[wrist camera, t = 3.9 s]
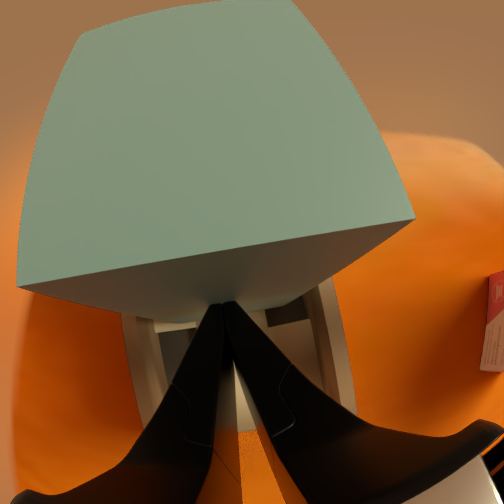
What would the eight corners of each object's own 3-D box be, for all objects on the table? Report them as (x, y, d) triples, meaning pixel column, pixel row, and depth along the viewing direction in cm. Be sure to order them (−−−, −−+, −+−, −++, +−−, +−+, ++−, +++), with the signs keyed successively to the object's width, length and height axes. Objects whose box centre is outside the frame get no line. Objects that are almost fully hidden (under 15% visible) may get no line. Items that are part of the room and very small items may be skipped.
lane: (335, 405, 15) (358, 422, 12) (169, 435, 14) (153, 459, 11) (301, 239, 18) (316, 217, 14) (138, 267, 17) (115, 251, 13)
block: (283, 305, 16) (415, 218, 4) (180, 323, 16) (16, 286, 3) (260, 196, 18) (290, -1, 5) (166, 211, 17) (81, 34, 5)
